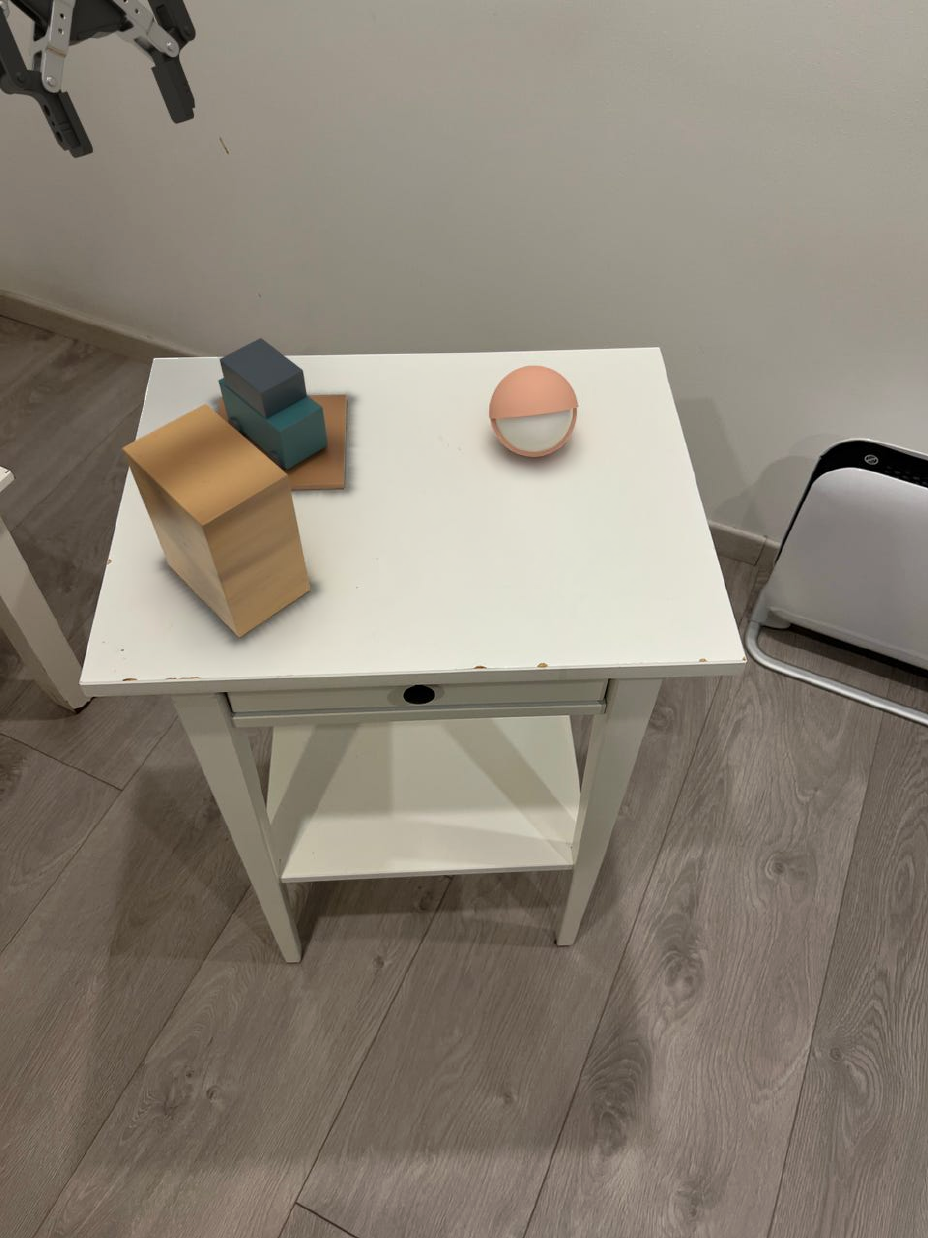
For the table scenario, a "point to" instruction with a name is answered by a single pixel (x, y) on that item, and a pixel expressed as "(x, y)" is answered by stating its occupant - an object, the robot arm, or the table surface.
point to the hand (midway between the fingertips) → (136, 137)
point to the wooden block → (221, 517)
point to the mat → (326, 463)
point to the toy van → (271, 403)
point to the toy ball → (533, 411)
